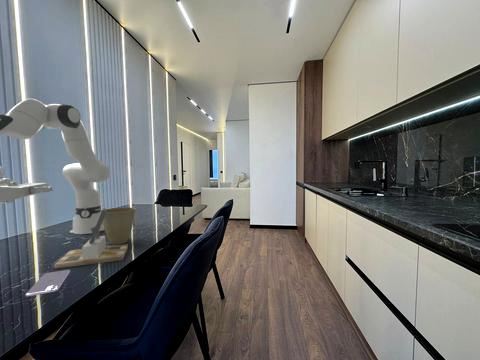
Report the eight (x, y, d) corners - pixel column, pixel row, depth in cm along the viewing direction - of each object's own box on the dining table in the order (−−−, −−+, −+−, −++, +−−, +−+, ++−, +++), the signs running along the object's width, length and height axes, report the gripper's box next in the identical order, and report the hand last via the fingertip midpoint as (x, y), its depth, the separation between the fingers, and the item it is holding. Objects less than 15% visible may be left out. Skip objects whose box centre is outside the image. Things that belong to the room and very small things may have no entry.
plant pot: (134, 245, 105) (132, 211, 104) (97, 249, 101) (95, 213, 100) (138, 236, 120) (137, 206, 119) (106, 239, 115) (104, 208, 114)
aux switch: (97, 236, 97) (92, 226, 96) (100, 235, 98) (96, 225, 97) (95, 239, 94) (90, 229, 93) (98, 237, 94) (93, 227, 93)
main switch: (91, 240, 90) (104, 208, 91) (94, 241, 91) (108, 209, 92) (88, 243, 87) (102, 209, 88) (92, 244, 87) (105, 210, 88)
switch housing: (92, 248, 97) (92, 237, 97) (106, 247, 99) (105, 235, 99) (82, 260, 85) (82, 247, 85) (97, 258, 87) (97, 245, 86)
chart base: (70, 253, 96) (70, 249, 96) (128, 247, 103) (127, 243, 103) (54, 268, 82) (54, 264, 81) (122, 260, 89) (122, 255, 88)
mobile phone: (71, 268, 80) (57, 289, 67) (71, 271, 80) (57, 292, 67) (43, 272, 77) (23, 295, 64) (44, 275, 77) (23, 298, 64)
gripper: (21, 195, 89) (63, 194, 94) (-19, 204, 70) (36, 201, 74) (20, 179, 89) (62, 178, 93) (-21, 184, 70) (35, 182, 74)
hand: (50, 189), depth 84 cm, fingers closed
